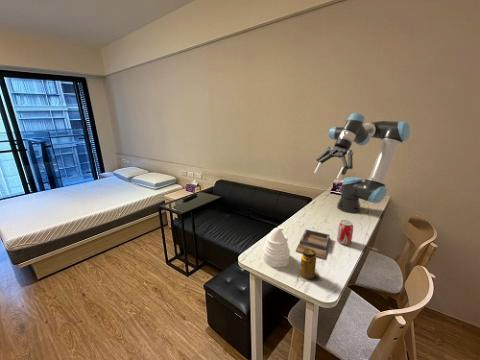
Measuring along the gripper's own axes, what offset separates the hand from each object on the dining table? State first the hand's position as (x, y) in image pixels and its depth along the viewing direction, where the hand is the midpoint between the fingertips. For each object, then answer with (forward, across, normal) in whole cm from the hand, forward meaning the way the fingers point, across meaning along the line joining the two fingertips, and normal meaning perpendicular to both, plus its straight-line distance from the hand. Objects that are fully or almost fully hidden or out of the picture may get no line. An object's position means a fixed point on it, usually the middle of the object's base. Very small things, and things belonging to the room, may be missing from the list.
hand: (326, 176), depth 116 cm
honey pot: (+49, 0, -6) cm, 49 cm away
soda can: (+26, +10, +26) cm, 38 cm away
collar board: (+35, +3, +14) cm, 38 cm away
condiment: (+46, +17, -2) cm, 49 cm away
